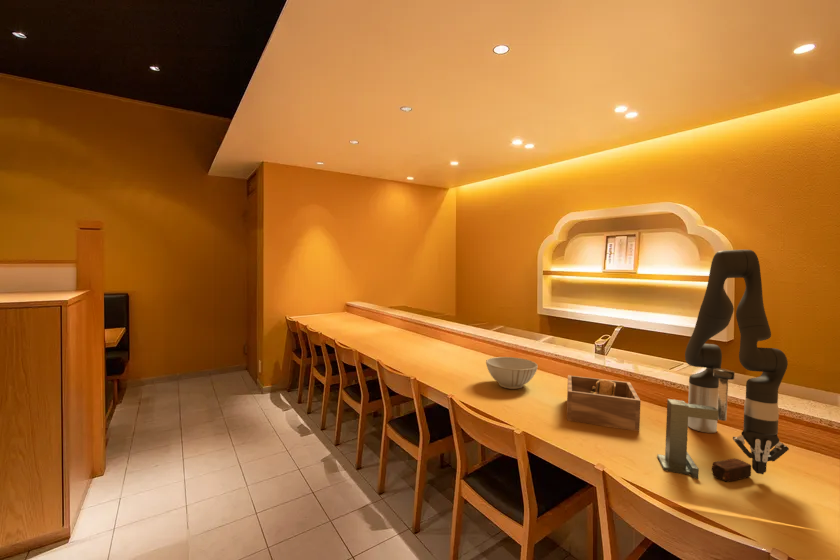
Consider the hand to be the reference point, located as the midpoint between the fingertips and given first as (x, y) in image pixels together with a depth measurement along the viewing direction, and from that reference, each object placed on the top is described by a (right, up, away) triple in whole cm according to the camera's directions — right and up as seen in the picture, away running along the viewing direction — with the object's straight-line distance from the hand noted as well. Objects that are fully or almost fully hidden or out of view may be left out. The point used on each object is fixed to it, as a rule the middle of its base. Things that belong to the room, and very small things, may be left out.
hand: (758, 472), depth 111 cm
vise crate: (-23, -1, +50) cm, 55 cm away
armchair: (-20, -1, +51) cm, 55 cm away
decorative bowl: (-52, +1, +88) cm, 103 cm away
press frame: (-17, -2, +7) cm, 18 cm away
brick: (-7, +1, -2) cm, 8 cm away
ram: (-8, +15, +3) cm, 17 cm away
